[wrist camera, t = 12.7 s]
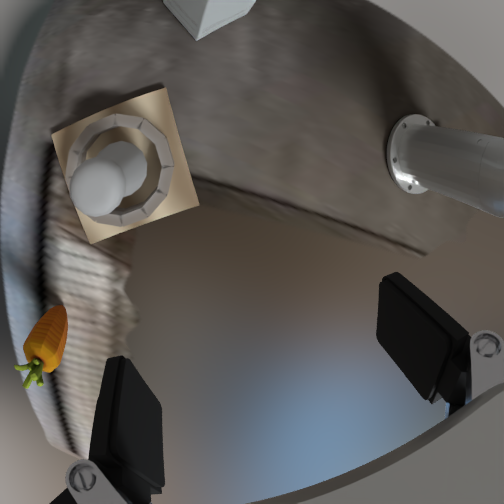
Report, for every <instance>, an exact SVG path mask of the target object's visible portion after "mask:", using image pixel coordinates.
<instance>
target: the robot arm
mask: <svg viewBox="0 0 504 504" xmlns="http://www.w3.org/2000/svg"><path fill="white" fill-rule="evenodd" d="M387 163H388V168H389V171H390V174H391V177H392V178H393V180H394V182H395V183H396V184H397V186H398V187H399V188H401V189H402V190H404V191H406V192H408V193H412V194H420V193H423V192H425V191H427V190H428V189H430V190H432V191H435V192H438V193H440V194H443V195H446V196H448V197H451V198H454V199H456V200H459V201H461V202H464V203H466V204H469V205H471V206H473V207H476V208H478V209H480V210H483V211H485V212H487V213H490V214H493V215H495V216H497V217H503V218H504V138H500V137H495V136H491V135H486V134H481V133H475V132H470V131H464V130H458V129H452V128H445V127H437V126H435V125H434V123H433V122H432V121H431V120H430V119H428V118H427V117H425V116H423V115H419V114H409V115H406V116H404V117H402V118H401V119H400V120H399V121H398V122H397V123H396V124H395V125H394V127H393V129H392V131H391V133H390V136H389V139H388V144H387ZM468 334H469V332H467V331H466V330H465V329H464V328H463V327H462V326H461V325H460V324H459V323H457V321H455V320H454V319H453V318H452V317H451V316H450V315H449V314H448V313H446V312H445V311H444V310H443V309H442V308H441V307H439V306H438V305H437V304H436V303H435V302H434V301H432V300H431V299H430V298H429V297H428V296H426V295H425V294H424V293H423V292H422V291H421V290H419V289H418V288H417V287H416V286H415V285H413V284H412V283H411V282H410V281H408V280H407V279H406V278H405V277H404V276H402V275H401V274H400V273H398V272H394V273H392V274H389V275H387V276H384V277H383V279H382V282H380V284H379V303H378V317H377V330H376V336H377V340H378V342H379V343H380V344H381V346H382V347H383V348H384V349H385V351H386V352H387V353H388V354H389V356H390V357H391V358H392V359H393V361H394V362H395V363H396V364H397V366H398V367H399V368H400V369H401V371H402V372H403V373H404V374H405V376H406V377H407V378H408V380H409V381H410V382H411V383H412V385H413V386H414V387H415V389H416V390H417V391H418V393H419V394H420V395H421V396H422V397H423V399H425V400H429V401H430V403H431V404H433V403H435V402H436V401H438V400H439V399H441V398H443V399H444V400H445V401H446V408H445V418H444V420H443V421H442V422H440V423H438V424H437V425H435V426H434V427H432V428H431V429H429V430H427V431H426V432H424V433H423V434H421V435H419V436H418V437H416V438H414V439H413V440H411V441H409V442H407V443H406V444H404V445H402V446H400V447H399V448H397V449H395V450H393V451H391V452H389V453H387V454H385V455H383V456H381V457H379V458H377V459H375V460H373V461H371V462H369V463H367V464H365V465H362V466H360V467H358V468H356V469H353V470H351V471H349V472H347V473H344V474H342V475H339V476H337V477H334V478H331V479H329V480H326V481H323V482H321V483H318V484H315V485H312V486H309V487H306V488H303V489H300V490H297V491H293V492H290V493H287V494H283V495H280V496H276V497H272V498H268V499H264V500H260V501H256V502H251V503H247V504H504V342H503V340H502V339H501V337H500V336H499V335H497V334H496V333H494V332H492V331H487V330H483V331H479V332H476V333H475V334H474V335H473V336H472V338H471V337H470V336H469V335H468ZM65 478H66V485H67V488H66V489H65V490H64V491H63V492H62V493H61V494H60V495H59V496H57V497H56V498H55V499H54V500H53V501H52V502H51V503H50V504H152V503H151V494H162V490H161V487H164V485H165V477H164V460H163V437H162V407H161V404H160V402H159V401H158V399H157V398H156V396H155V395H154V394H153V392H152V391H151V390H150V388H149V387H148V385H147V384H146V383H145V381H144V380H143V379H142V377H141V376H140V374H139V372H138V371H137V370H136V368H135V367H134V365H133V363H132V362H131V360H130V359H128V358H127V359H126V358H125V357H124V356H117V357H112V358H108V359H107V361H106V365H105V370H104V374H103V379H102V384H101V389H100V394H99V397H98V400H97V404H96V410H95V416H94V422H93V428H92V435H91V442H90V450H89V459H88V460H85V459H82V460H78V461H76V462H74V463H73V464H72V465H71V466H70V467H69V468H68V470H67V472H66V477H65Z"/></svg>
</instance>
